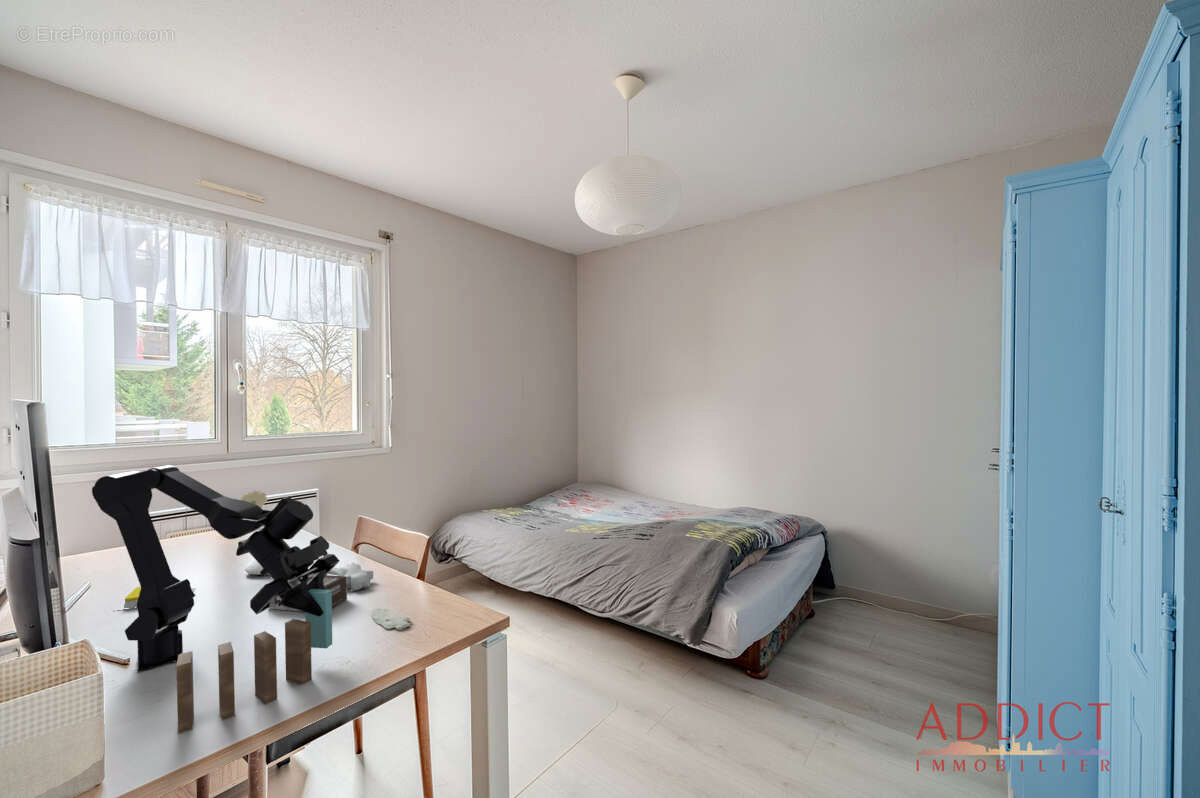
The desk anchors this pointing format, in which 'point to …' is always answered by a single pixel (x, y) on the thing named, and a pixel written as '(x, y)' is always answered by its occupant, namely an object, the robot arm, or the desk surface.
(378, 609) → the stone tool
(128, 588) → the desk surface
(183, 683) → the domino
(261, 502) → the flower in vase
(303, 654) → the domino
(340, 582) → the coffee box
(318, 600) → the teal domino
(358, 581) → the bunny figurine
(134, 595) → the emergency button
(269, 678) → the domino
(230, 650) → the domino
